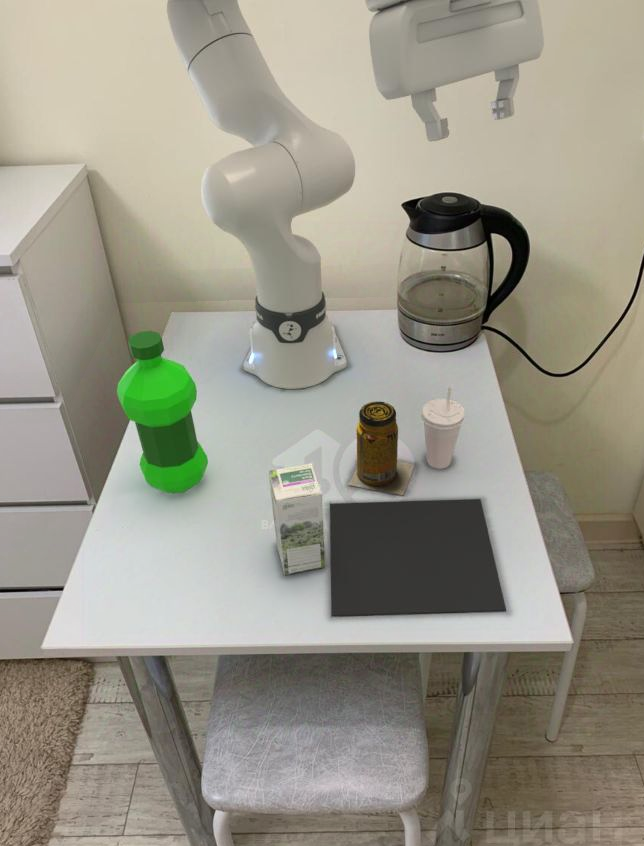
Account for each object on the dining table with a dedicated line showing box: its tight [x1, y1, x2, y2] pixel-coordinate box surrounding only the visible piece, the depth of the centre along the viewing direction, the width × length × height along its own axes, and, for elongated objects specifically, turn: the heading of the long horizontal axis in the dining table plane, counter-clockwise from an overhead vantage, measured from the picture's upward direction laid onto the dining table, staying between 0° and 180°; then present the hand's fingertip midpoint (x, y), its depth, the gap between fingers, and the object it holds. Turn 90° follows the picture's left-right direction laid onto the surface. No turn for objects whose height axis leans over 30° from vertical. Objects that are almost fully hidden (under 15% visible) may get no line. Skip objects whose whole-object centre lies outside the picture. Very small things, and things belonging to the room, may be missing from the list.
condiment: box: [348, 400, 416, 496], centre depth 106 cm, size 7×8×12 cm
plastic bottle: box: [116, 330, 209, 495], centre depth 102 cm, size 10×10×25 cm
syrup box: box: [268, 463, 326, 576], centre depth 93 cm, size 6×6×14 cm
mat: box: [329, 498, 507, 618], centre depth 98 cm, size 20×22×1 cm
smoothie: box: [420, 385, 466, 470], centre depth 108 cm, size 6×6×14 cm
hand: (472, 128), depth 75 cm, fingers open, 8 cm apart
